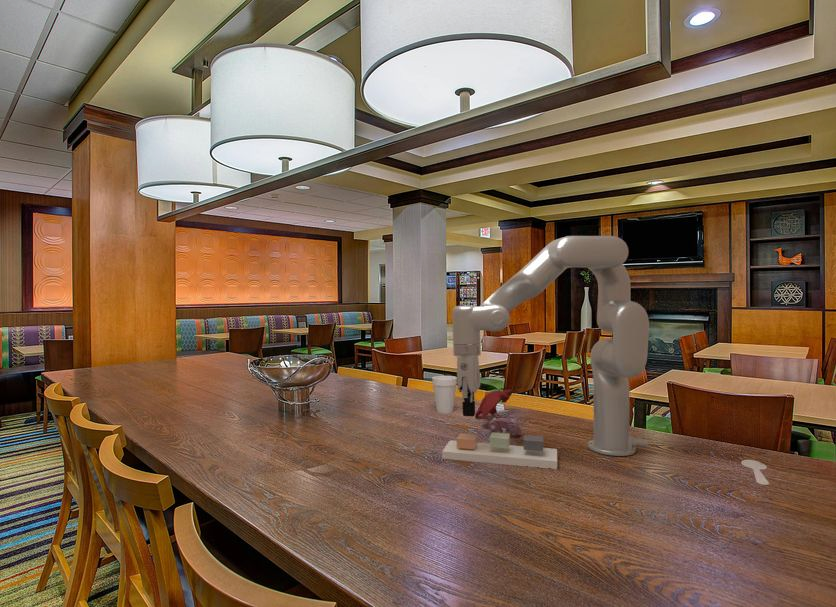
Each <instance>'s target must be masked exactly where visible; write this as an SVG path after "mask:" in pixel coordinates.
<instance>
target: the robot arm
mask: <svg viewBox="0 0 836 607" xmlns="http://www.w3.org/2000/svg"><path fill="white" fill-rule="evenodd" d="M628 257H629V247H628V245H627V243H626V241H624V240H623V239H622V238H621V237H618V236H614V235H566V236H564V237H560V238H557V239H554V240H552V241H551V242H549V243H548V244H547V245H545V247H543V248H542V249H541V250H540V251H539V252H538V253H537V254H536V255H535V256H533V258H531V260H530V261H529V262H528V263H526V264H525V266H524V267H522V268H521V269H520V270H519V271H518V272H517V273H516V274H514V275H513V276H511V278H509V279H508V280H507V281H506V282H505V283H504V284H503V285H501V286H500V287H499V288H498V289H496V290H495V291H494V292H493V293H492V294H491V295H490V296H489V297H487V299H485V300H484V301H483V302H482V304H480V305H479V306H477V305H470V304H469V305H455V306H454V307H453V309H452V313H451V316H452V317H451V318H452V320H451V322H452V342H453V344H452V346H453V347H452V348H453V356H454V357H456V358H457V359H456V377H457V384H456V385H457V391H458V392H459V393H461V398H462V416H463V417H475V414H476V401H475V393H477V392H478V390H479V389H480V387H481V374H480V362H479V356H481V354H482V353H481V351H482V348H481V331H489V332H499V331H502V330H504V329H505V328H507V326H508V325H509V323H510V319H511V315H510V312H511V311H512V310H514V309H515V308H517V307H518V306H519V305H521V304H522V303H524V302H526V301H528V300H531V299H533V298H536V297H537V296H538V295H540V294H541V293H543V291H544V290H545V289H547V287H549V286H550V285H551V284H552V283H553V282H554V281H555V280H556V279H557V278H558V277H559V276H560V275H561V274H562V273H564V272H565V270H567V269H569V268H586V269H589V270H590V272H592V274H593V275H594V276H595V280H596V281H597V287H598V288H597V289H598V291H597V292H598V295H597V310H596V323H597V326H598V328H599V329H600V330H601V331H603V332H604V333H607V334H610V335H612V338H603V339H600V340H598V341H597V342H595V343H594V345H593V346H592V348H591V351H590V364H591V365H590V366H591V371H592V379H593V380H592V381H593V439H590V440H589V441H588V442H587V447H588V449H589V450H590V451H592V452H595V453H598V454H602V455H605V456H614V457H625V456H627V457H629V456H632V455H634V454H635V453H636V449H637V448H636V447H638V446H640V447H649V440H648V439H643V438H642V437H639V436H638V437H633V435H632V434H631V433H630V424H631V423H630V422H631V420H630V397H631V396H630V391H631V390H630V388H631V387H630V382H629V378H635V377H637V376H638V375H639V376H640V374H641V373H643V372H644V369H645V368H646V365H647V361H648V351H649V336H650V335H649V334H650V320H649V316H648V313H647V311H646V309H645V308H644V307H643V306H642V305H641V304H639V303H638V302H635V301H632V300H631V280H630V279H631V278H630V275H629V272H628V270H627V268H626V266H625V265H624V263H625V262H626V261H627V259H628Z"/></svg>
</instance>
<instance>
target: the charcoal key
mask: <svg viewBox="0 0 836 607" xmlns="http://www.w3.org/2000/svg"><path fill="white" fill-rule="evenodd" d="M544 440H545V439H544V435H531V434H524V437H523V446H524V450H534V451H543V448H544Z"/></svg>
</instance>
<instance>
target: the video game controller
mask: <svg viewBox="0 0 836 607" xmlns="http://www.w3.org/2000/svg"><path fill="white" fill-rule="evenodd" d="M497 418H498V419H497ZM497 418H496V417H493V418H492V419H491V420H490V421H488V424H487V426H488V428H489V430H490V431H491V433H492V432H494V433H507V434H510V437H512V436H513V434H515V436H518V437H519V436H521V435H522V429H521V428H520V426H519V424H518V422H516V421H515V420H514V419H509V418H505V417H501V418H500V417H497ZM504 429H505V431H504Z"/></svg>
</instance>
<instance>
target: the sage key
mask: <svg viewBox="0 0 836 607" xmlns="http://www.w3.org/2000/svg"><path fill="white" fill-rule="evenodd" d="M488 439H489V440H488V441H489V442H488V443H489V447H497V448H509V445H511V436H510V434H507V433H505V432H503V433H495V432H491V433H490V435H489V438H488Z"/></svg>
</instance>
